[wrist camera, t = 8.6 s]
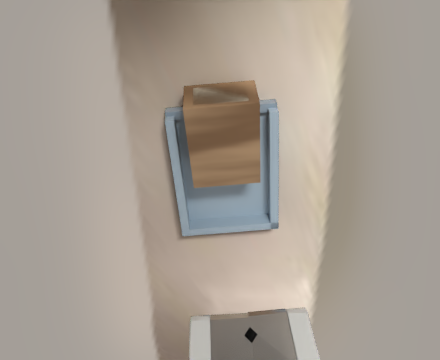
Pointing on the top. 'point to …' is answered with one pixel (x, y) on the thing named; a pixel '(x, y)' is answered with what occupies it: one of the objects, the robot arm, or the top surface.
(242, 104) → the wooden block
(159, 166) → the top surface
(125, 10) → the top surface
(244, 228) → the tray
